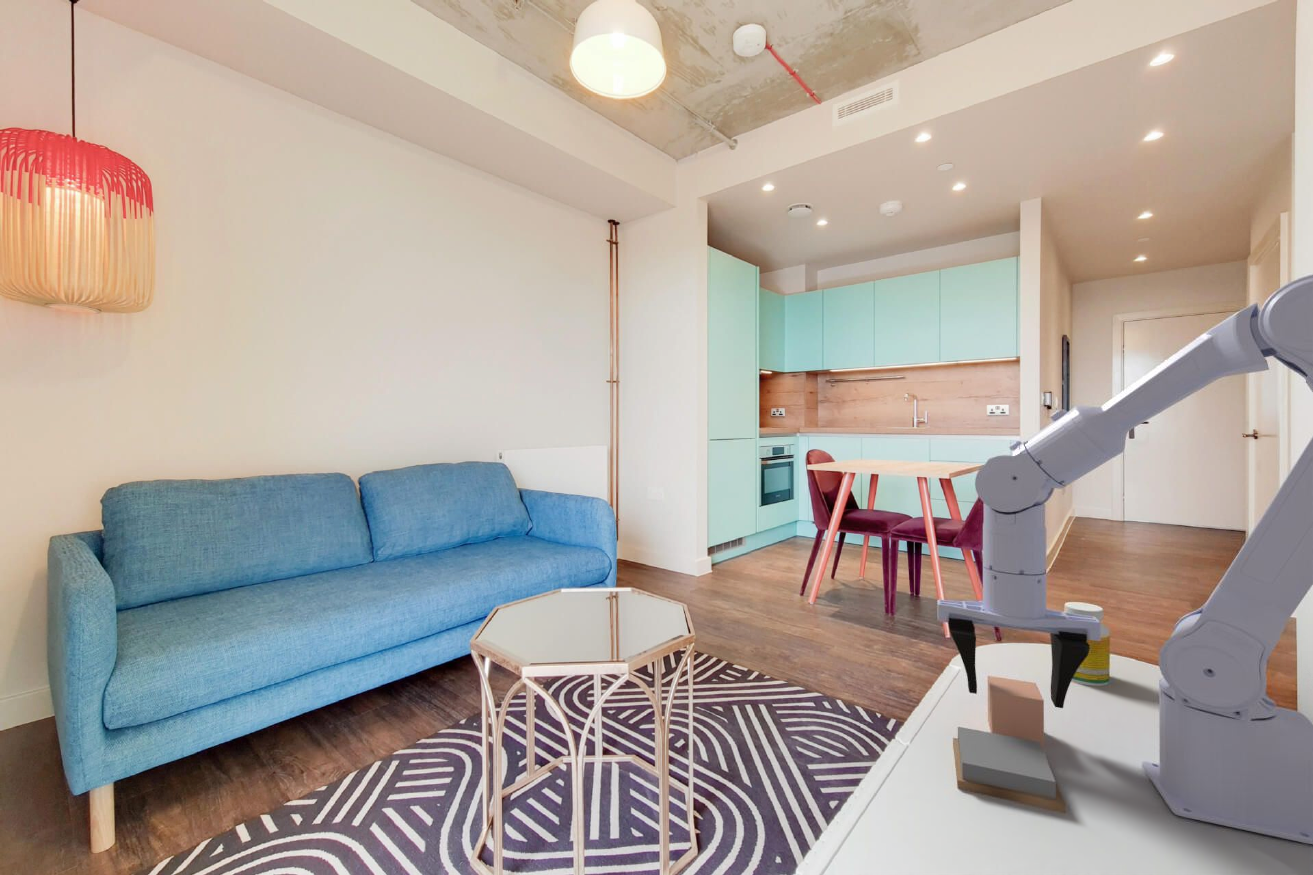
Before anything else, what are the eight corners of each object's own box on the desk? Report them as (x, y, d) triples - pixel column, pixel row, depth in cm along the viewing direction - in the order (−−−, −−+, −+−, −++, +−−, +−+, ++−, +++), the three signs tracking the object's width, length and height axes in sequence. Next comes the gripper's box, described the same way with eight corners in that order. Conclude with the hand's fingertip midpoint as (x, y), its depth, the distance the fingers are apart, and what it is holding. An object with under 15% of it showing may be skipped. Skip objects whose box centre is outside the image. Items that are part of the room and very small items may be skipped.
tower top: (1039, 757, 55) (1039, 741, 55) (1055, 799, 48) (1055, 781, 48) (957, 741, 58) (957, 726, 58) (962, 778, 51) (962, 762, 51)
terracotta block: (1035, 728, 61) (1035, 682, 61) (1044, 749, 57) (1043, 700, 57) (987, 720, 63) (987, 675, 63) (992, 739, 59) (992, 692, 59)
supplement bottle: (1047, 673, 75) (1047, 601, 75) (1080, 669, 77) (1080, 598, 77) (1086, 691, 70) (1086, 613, 70) (1121, 687, 71) (1120, 610, 71)
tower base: (1046, 770, 55) (1046, 755, 55) (1065, 821, 48) (1065, 803, 48) (953, 752, 58) (953, 737, 58) (957, 796, 51) (957, 780, 51)
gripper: (1087, 567, 61) (1087, 693, 61) (936, 555, 67) (936, 670, 67) (1107, 583, 54) (1106, 724, 55) (938, 568, 61) (938, 695, 61)
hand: (1013, 696), depth 60 cm, fingers open, 7 cm apart
